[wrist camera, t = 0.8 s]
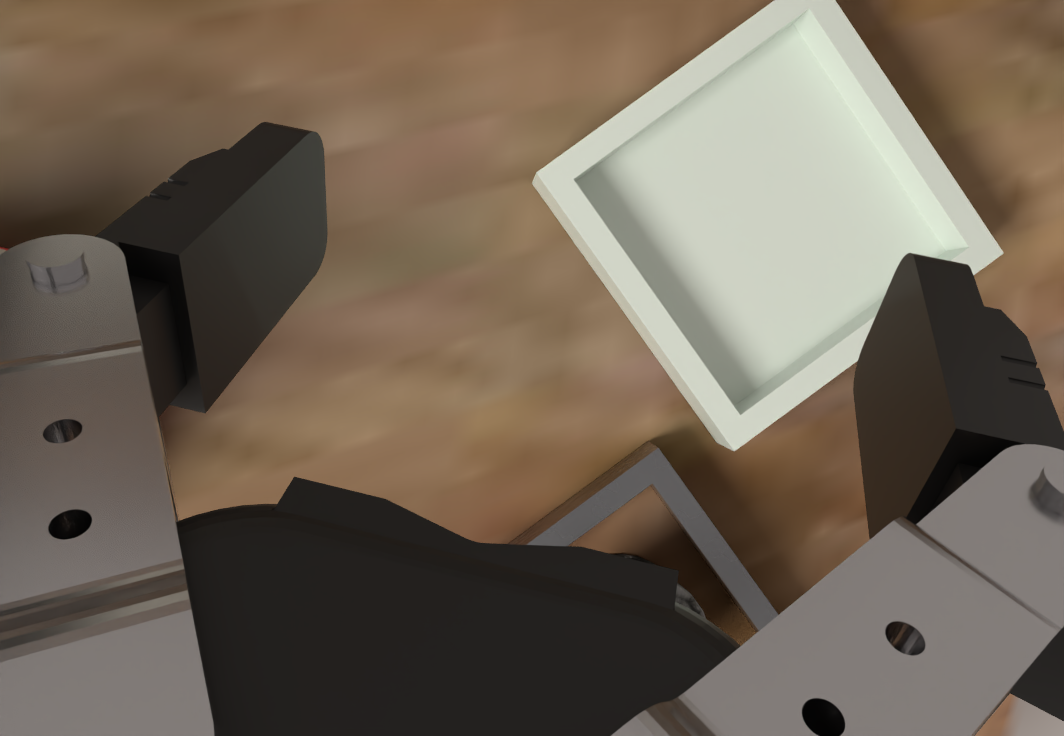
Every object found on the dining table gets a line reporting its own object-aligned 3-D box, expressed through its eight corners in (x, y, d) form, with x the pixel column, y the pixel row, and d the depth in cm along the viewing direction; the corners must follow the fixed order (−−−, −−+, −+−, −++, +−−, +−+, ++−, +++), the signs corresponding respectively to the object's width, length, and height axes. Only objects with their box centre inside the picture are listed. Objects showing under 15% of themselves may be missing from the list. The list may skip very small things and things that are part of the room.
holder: (441, 592, 36) (439, 608, 34) (648, 440, 36) (658, 447, 34) (590, 790, 37) (597, 817, 35) (792, 640, 37) (810, 659, 35)
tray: (532, 183, 35) (536, 172, 33) (791, -5, 36) (815, -30, 33) (716, 442, 36) (734, 451, 34) (967, 257, 37) (1003, 253, 34)
